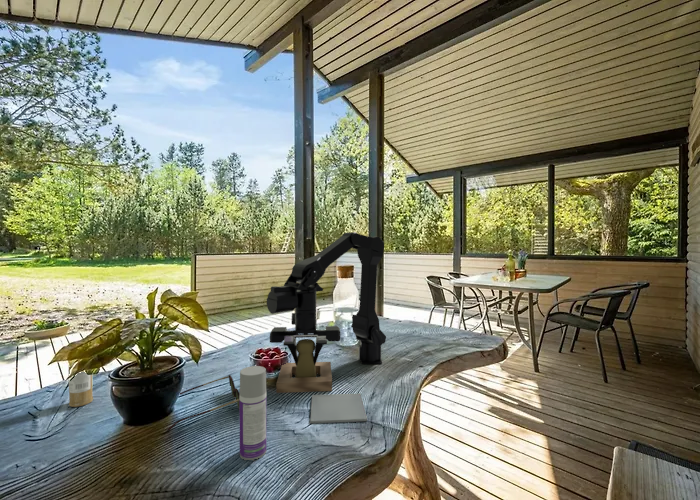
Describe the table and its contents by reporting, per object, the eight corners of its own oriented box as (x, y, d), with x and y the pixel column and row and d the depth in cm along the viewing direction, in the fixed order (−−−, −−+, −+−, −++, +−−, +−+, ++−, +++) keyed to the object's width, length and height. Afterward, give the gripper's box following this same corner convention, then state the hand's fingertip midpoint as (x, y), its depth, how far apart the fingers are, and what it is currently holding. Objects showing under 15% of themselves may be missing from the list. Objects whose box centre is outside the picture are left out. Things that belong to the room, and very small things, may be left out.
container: (243, 445, 63) (242, 366, 63) (268, 444, 63) (268, 365, 63) (236, 461, 58) (236, 376, 58) (264, 460, 59) (264, 375, 58)
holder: (330, 370, 100) (330, 361, 100) (332, 391, 86) (332, 381, 86) (282, 371, 99) (282, 363, 99) (276, 392, 85) (276, 383, 85)
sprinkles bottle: (95, 397, 82) (94, 342, 82) (90, 405, 78) (89, 347, 78) (71, 400, 80) (70, 344, 80) (65, 409, 76) (64, 350, 76)
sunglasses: (243, 418, 74) (241, 396, 73) (165, 442, 67) (163, 418, 66) (231, 392, 86) (229, 373, 86) (165, 410, 79) (163, 389, 79)
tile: (360, 395, 84) (360, 393, 84) (367, 421, 72) (367, 418, 72) (312, 397, 83) (312, 395, 83) (310, 423, 71) (310, 421, 71)
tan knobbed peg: (318, 375, 95) (318, 337, 95) (314, 384, 89) (314, 343, 89) (297, 374, 96) (297, 336, 96) (292, 383, 90) (292, 343, 90)
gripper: (338, 302, 101) (338, 354, 101) (275, 303, 99) (275, 356, 100) (340, 310, 90) (340, 368, 90) (269, 311, 88) (269, 370, 89)
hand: (305, 365), depth 92 cm, fingers closed on tan knobbed peg, 4 cm apart
